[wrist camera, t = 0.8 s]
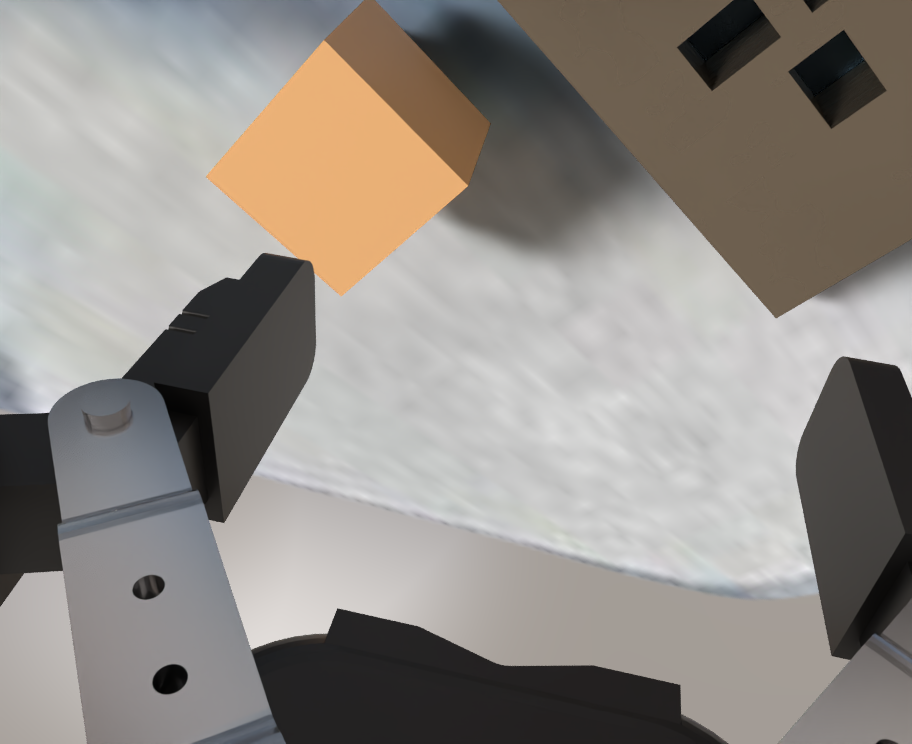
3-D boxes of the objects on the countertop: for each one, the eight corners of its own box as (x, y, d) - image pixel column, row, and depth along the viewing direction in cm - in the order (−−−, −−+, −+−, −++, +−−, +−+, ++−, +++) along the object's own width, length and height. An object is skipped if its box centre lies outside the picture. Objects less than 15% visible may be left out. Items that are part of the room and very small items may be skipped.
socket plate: (486, -48, 27) (470, -23, 24) (825, -408, 21) (855, -431, 18) (765, 276, 33) (778, 327, 30) (1101, 68, 26) (1158, 108, 23)
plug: (387, -24, 28) (323, 39, 22) (499, 98, 30) (467, 185, 24) (285, 94, 31) (205, 176, 25) (392, 197, 33) (341, 296, 27)
